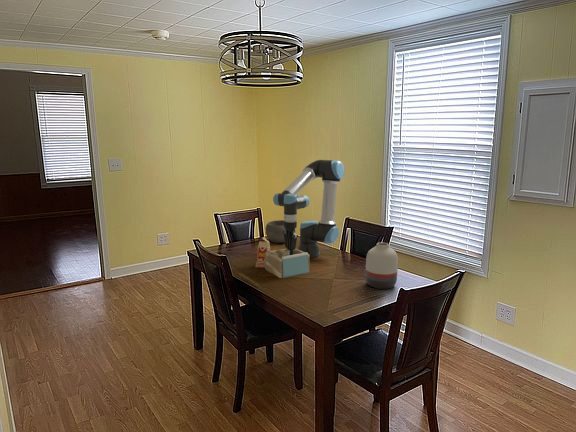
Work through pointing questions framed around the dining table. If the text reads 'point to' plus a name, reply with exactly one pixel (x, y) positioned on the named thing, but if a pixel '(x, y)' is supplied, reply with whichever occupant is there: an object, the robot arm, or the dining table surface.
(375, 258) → the vase
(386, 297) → the dining table surface
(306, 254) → the light blue flat panel
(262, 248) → the milk carton
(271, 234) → the bowl
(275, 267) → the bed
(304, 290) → the dining table surface
